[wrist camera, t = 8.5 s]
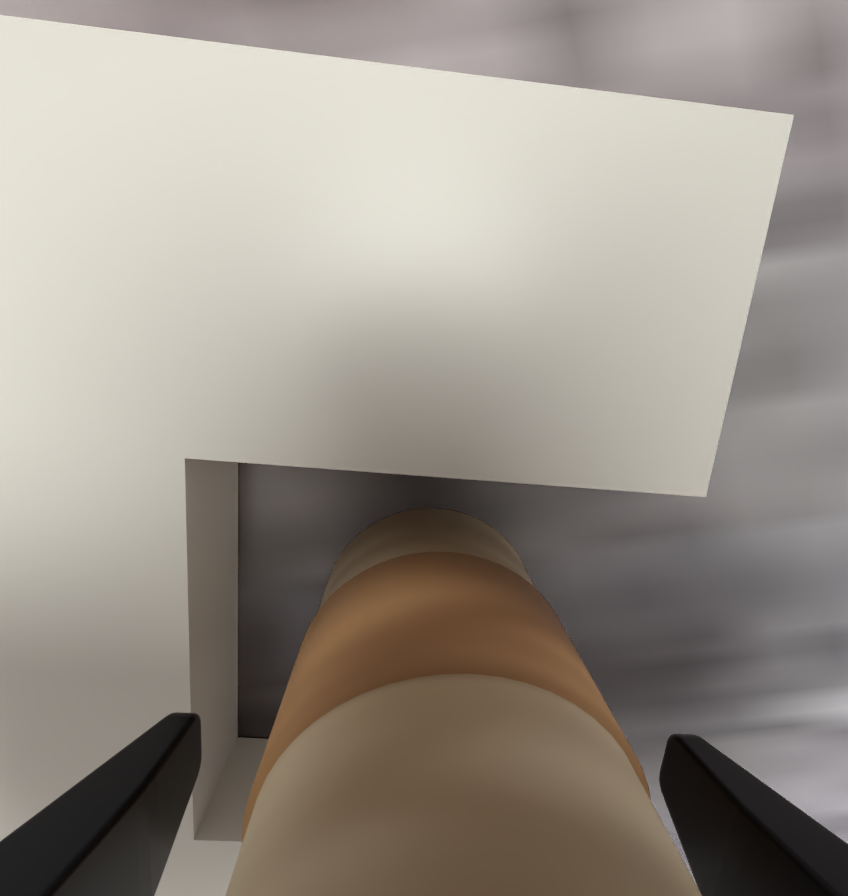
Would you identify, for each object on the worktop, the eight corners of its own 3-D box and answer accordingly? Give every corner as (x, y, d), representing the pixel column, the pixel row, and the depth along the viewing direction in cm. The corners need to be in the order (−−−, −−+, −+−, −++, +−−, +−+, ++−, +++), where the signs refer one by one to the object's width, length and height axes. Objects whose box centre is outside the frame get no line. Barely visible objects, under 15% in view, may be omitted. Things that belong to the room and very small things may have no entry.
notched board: (691, 175, 9) (794, 114, 7) (548, 920, 14) (578, 1046, 11) (19, 97, 9) (-135, -2, 6) (91, 911, 13) (17, 1045, 10)
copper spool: (548, 512, 11) (925, 949, 3) (519, 701, 12) (738, 1381, 4) (325, 496, 10) (93, 937, 3) (316, 692, 12) (134, 1410, 4)
